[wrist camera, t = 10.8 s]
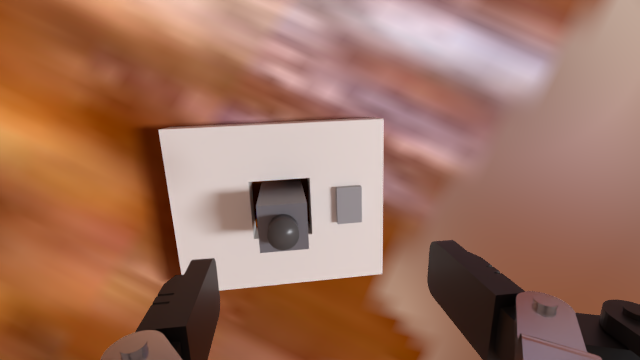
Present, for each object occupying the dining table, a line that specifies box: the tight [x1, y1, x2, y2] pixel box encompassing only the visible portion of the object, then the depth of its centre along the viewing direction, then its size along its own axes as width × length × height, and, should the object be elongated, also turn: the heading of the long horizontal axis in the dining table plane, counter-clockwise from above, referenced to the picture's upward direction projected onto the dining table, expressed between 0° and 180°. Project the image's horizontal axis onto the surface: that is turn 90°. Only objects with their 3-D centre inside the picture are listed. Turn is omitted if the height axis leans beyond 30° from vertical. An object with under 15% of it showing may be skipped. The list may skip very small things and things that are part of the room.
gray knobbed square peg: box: [256, 180, 309, 253], centre depth 29 cm, size 4×4×10 cm
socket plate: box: [158, 117, 384, 291], centre depth 32 cm, size 20×16×4 cm
